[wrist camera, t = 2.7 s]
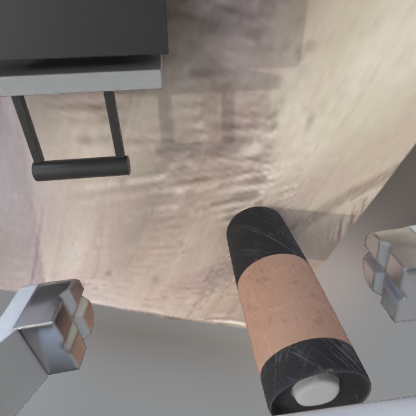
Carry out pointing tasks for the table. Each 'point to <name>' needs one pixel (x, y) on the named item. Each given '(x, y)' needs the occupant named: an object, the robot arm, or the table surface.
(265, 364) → the travel mug
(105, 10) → the dark grey box
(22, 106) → the grey drawer
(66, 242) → the table surface
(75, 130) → the table surface
